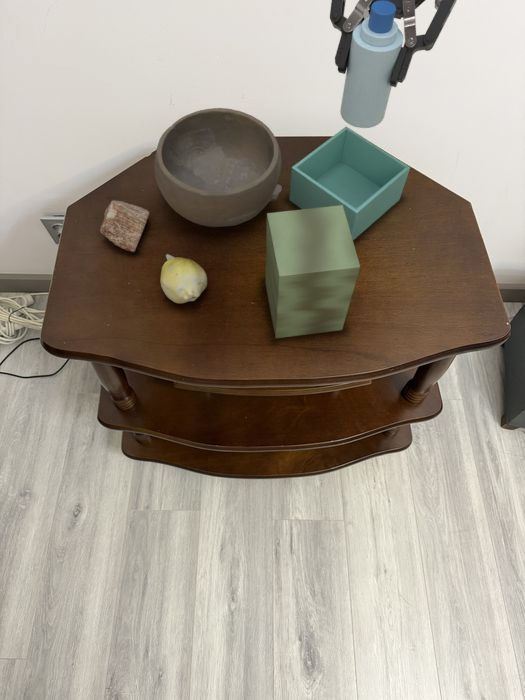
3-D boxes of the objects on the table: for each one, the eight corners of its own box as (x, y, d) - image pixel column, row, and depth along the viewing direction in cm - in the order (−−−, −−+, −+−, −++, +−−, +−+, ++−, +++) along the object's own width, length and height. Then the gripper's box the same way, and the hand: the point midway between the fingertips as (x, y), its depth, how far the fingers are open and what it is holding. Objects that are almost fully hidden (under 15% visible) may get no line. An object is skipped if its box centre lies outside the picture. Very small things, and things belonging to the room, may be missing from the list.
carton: (399, 199, 81) (410, 167, 75) (349, 244, 77) (356, 213, 71) (340, 160, 85) (346, 126, 79) (289, 200, 81) (291, 167, 75)
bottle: (391, 108, 68) (419, 2, 56) (372, 134, 65) (396, 29, 54) (352, 92, 69) (371, -14, 57) (332, 117, 67) (347, 12, 55)
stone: (121, 261, 78) (139, 252, 74) (87, 238, 74) (104, 228, 71) (138, 222, 81) (156, 212, 77) (105, 199, 77) (123, 187, 74)
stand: (328, 275, 74) (342, 204, 62) (342, 330, 70) (360, 266, 58) (265, 282, 74) (266, 213, 61) (275, 338, 69) (279, 276, 57)
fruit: (187, 251, 76) (222, 293, 71) (154, 277, 76) (188, 321, 71) (168, 227, 71) (205, 271, 66) (133, 255, 71) (168, 301, 66)
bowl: (302, 200, 81) (307, 148, 72) (214, 265, 75) (209, 217, 66) (226, 142, 86) (222, 87, 77) (139, 199, 81) (125, 146, 72)
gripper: (350, -127, 53) (302, 55, 59) (493, -100, 51) (429, 87, 56) (357, -89, 60) (313, 71, 66) (483, -63, 58) (426, 100, 63)
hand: (367, 78), depth 61 cm, fingers closed on bottle, 5 cm apart
